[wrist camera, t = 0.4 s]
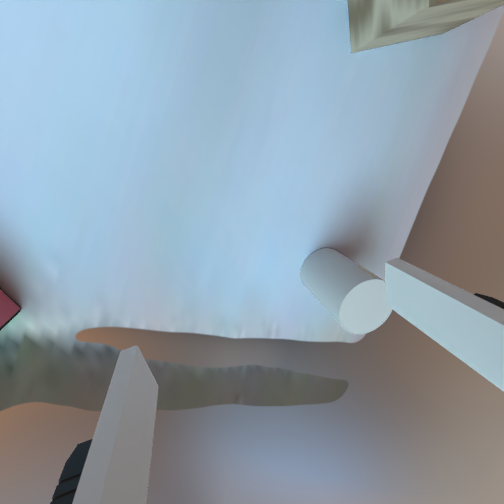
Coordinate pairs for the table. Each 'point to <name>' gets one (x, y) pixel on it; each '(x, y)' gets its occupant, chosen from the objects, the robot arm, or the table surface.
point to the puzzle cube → (7, 309)
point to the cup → (346, 290)
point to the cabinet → (409, 19)
